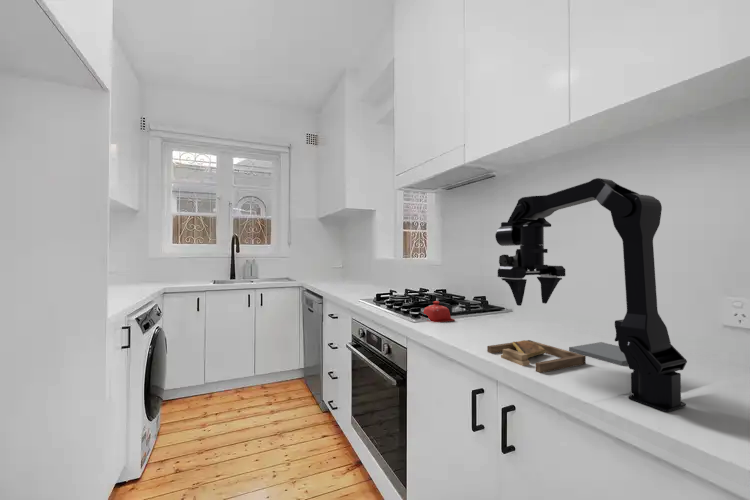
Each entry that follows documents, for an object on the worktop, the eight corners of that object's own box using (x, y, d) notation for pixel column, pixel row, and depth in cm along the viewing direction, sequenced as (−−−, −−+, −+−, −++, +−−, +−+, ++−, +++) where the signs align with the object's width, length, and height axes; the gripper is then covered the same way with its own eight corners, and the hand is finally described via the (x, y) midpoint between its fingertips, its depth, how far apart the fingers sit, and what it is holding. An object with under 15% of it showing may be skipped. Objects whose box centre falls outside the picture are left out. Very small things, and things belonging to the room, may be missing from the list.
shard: (524, 360, 87) (525, 353, 87) (498, 349, 93) (499, 342, 93) (546, 354, 94) (547, 348, 94) (520, 344, 100) (521, 338, 100)
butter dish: (416, 320, 143) (416, 299, 143) (440, 318, 148) (440, 298, 148) (431, 325, 133) (431, 303, 133) (456, 323, 137) (456, 302, 137)
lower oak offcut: (529, 367, 85) (529, 361, 85) (522, 368, 84) (522, 362, 84) (507, 359, 92) (507, 353, 92) (501, 360, 91) (500, 354, 91)
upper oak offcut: (527, 360, 86) (527, 354, 86) (521, 361, 85) (521, 355, 85) (508, 354, 91) (508, 348, 91) (502, 355, 90) (502, 349, 90)
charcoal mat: (654, 358, 90) (654, 354, 91) (621, 365, 85) (621, 361, 85) (601, 345, 103) (601, 342, 103) (569, 350, 98) (569, 347, 98)
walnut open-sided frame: (585, 363, 86) (585, 355, 86) (540, 372, 80) (540, 364, 80) (529, 346, 102) (529, 340, 102) (487, 353, 95) (487, 346, 95)
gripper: (532, 246, 102) (532, 298, 102) (482, 245, 95) (483, 302, 95) (566, 245, 92) (567, 303, 92) (514, 244, 85) (514, 308, 84)
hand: (532, 304), depth 91 cm, fingers open, 9 cm apart
